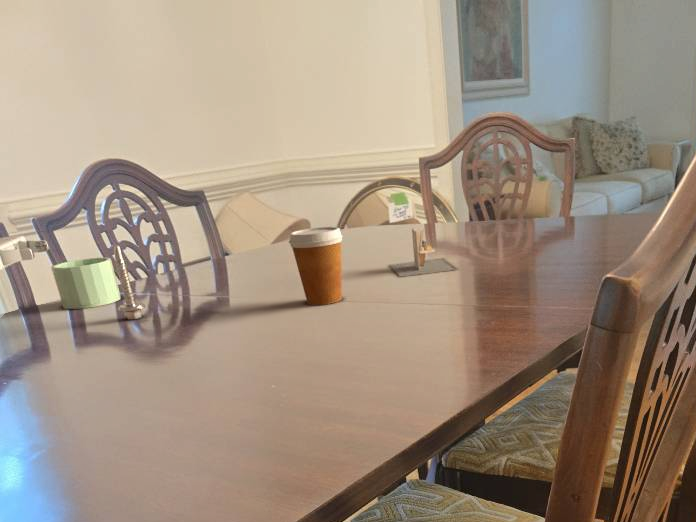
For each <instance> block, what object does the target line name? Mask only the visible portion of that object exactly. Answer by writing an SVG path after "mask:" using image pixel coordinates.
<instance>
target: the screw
mask: <svg viewBox="0 0 696 522" xmlns="http://www.w3.org/2000/svg"><path fill="white" fill-rule="evenodd" d="M112 251H113V254H114V260H115V261H114V262H115V267H116V268H115V269H116V270H117V272H116V273H118V274H117V276H118V277H119V278H118V280H119V283H120V287H121V290H122V293H123V297H124V298H123V299H124V300H125V303H124V304H121V305H119V306H118V308H117V310H118V312H123V314H125V315H126V319H127V321H131V320H137V319H141V318H142V313H141V312H142V309H144V308H145V307H146V304H145V303H144V302H141V301H138V302H137V301H136V300H135V299H136V298H135V294H134V291H133V288H132V284H131V281H130V279H131V278H129V276H130V275H129V274H128V273H129V271H128V267H127V264H126V261H125V260H124V259H125V257H123V255H122V254H123V253H122V250H121V247H120V245H118V244H116V243H115V244H114V245H113V246H112Z"/></svg>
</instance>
